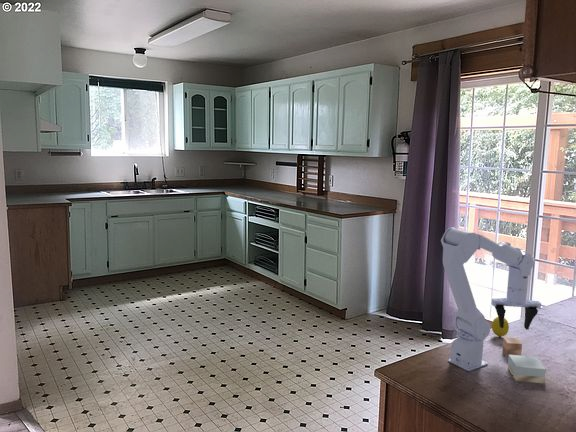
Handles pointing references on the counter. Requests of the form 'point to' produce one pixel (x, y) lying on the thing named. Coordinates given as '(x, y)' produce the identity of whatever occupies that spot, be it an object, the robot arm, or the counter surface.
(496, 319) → the lemon
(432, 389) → the counter surface
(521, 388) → the counter surface
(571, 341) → the counter surface
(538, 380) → the tower base
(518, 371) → the tower top
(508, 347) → the block
